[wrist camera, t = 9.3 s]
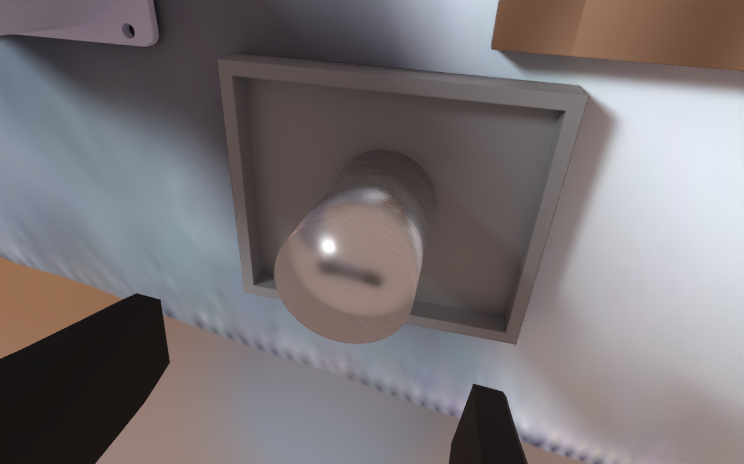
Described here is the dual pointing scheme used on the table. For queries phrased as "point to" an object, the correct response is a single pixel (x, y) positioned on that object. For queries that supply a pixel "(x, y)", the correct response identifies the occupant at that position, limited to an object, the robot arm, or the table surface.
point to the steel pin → (359, 250)
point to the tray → (423, 145)
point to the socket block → (626, 30)
